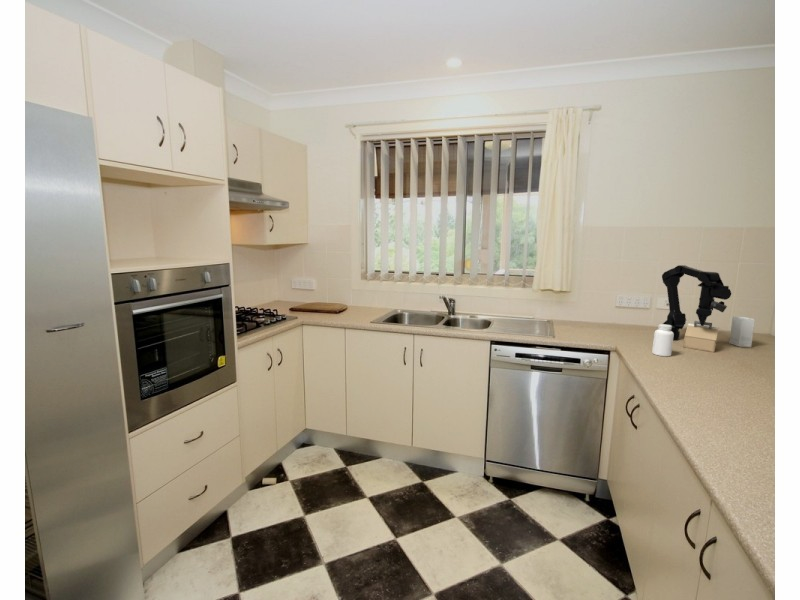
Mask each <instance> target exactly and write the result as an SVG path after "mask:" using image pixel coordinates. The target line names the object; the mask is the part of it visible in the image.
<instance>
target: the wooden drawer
mask: <svg viewBox="0 0 800 600" xmlns="http://www.w3.org/2000/svg"><path fill="white" fill-rule="evenodd" d="M717 340H718V337H717V338H716V341H713V340H706V339H700V338H693V337H686V336H685V335H684V339H683V344H682V345H683V346H682V347H683V348H685V349H691V350H698V351H702V352H710V353H715V351H716V348H717Z"/></svg>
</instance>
